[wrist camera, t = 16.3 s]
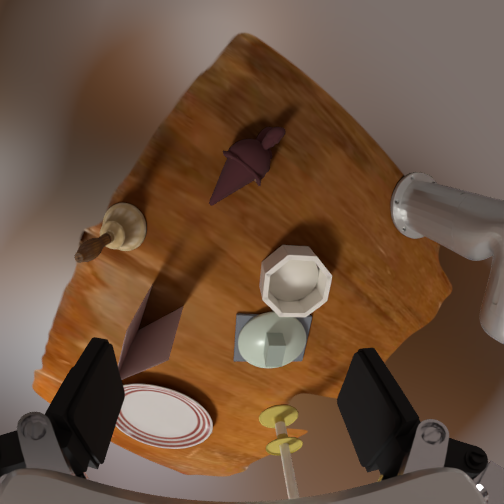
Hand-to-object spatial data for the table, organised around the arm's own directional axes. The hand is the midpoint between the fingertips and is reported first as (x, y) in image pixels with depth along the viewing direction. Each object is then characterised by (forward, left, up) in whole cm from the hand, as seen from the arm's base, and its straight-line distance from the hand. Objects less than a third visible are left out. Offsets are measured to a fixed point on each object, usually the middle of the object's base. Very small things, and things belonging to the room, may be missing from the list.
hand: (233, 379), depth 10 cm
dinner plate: (+16, +51, -37) cm, 65 cm away
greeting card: (+14, +19, -36) cm, 43 cm away
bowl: (-11, +11, -36) cm, 39 cm away
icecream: (-1, -7, -37) cm, 37 cm away
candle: (-14, +50, -36) cm, 63 cm away
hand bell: (+18, +4, -37) cm, 41 cm away
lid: (-9, +24, -36) cm, 44 cm away
